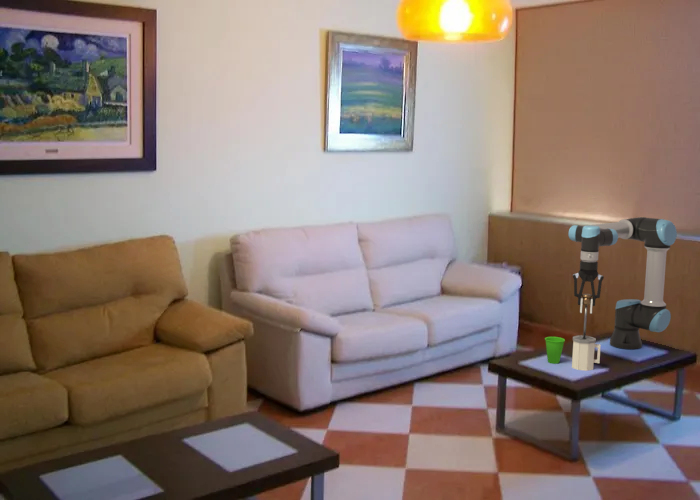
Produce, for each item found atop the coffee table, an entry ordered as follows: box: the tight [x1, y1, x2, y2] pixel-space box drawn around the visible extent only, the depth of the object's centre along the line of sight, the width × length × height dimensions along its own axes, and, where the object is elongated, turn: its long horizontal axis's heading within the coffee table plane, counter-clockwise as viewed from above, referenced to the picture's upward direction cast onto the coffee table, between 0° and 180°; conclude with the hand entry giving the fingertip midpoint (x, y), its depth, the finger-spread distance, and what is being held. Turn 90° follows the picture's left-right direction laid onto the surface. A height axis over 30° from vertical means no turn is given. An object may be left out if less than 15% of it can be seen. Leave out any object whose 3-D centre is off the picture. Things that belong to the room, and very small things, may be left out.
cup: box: [544, 336, 566, 365], centre depth 374 cm, size 9×9×11 cm
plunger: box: [581, 293, 593, 339], centre depth 364 cm, size 6×6×22 cm
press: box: [571, 334, 601, 372], centre depth 367 cm, size 10×12×14 cm
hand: (585, 312), depth 364 cm, fingers closed on plunger, 4 cm apart
